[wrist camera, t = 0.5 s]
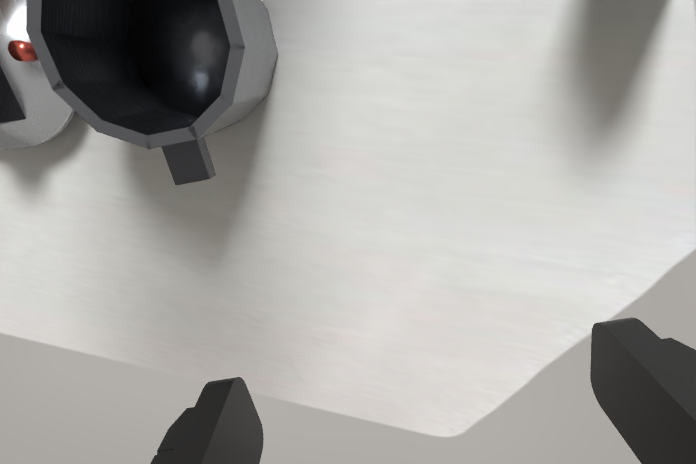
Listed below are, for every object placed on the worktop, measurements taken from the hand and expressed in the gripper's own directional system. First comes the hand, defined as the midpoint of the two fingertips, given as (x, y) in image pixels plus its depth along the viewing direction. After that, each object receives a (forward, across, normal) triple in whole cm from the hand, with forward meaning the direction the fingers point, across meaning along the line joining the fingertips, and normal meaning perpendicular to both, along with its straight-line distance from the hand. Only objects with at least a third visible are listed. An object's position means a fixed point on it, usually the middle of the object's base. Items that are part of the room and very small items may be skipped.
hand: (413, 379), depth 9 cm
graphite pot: (+27, +12, -11) cm, 32 cm away
